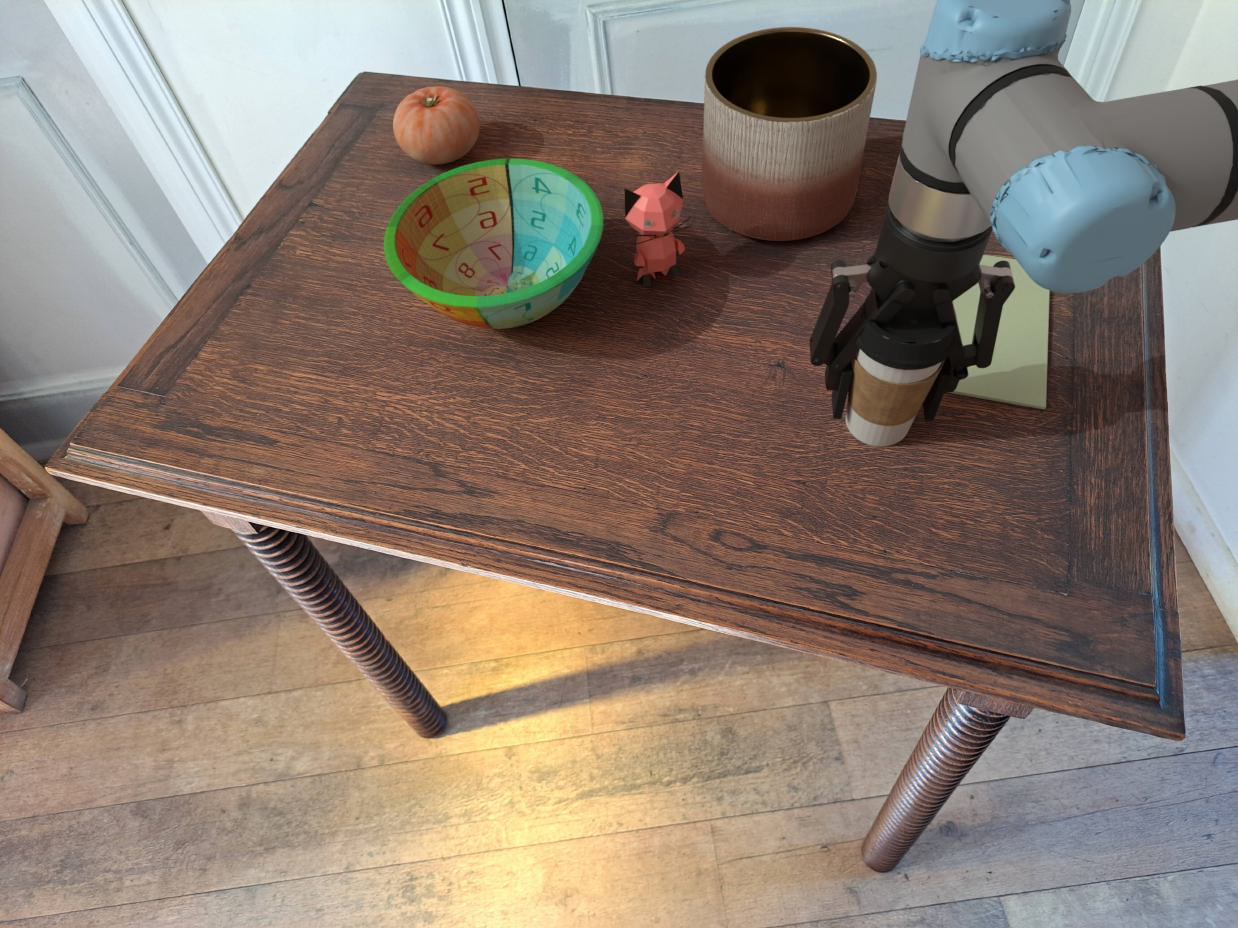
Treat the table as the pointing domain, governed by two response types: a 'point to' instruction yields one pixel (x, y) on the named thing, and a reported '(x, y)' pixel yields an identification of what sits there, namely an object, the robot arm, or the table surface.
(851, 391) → the coffee cup
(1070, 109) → the robot arm
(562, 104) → the table surface
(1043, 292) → the sage mat
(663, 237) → the cat figurine
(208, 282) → the table surface
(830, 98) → the planter
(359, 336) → the table surface
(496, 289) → the bowl
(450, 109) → the pumpkin
